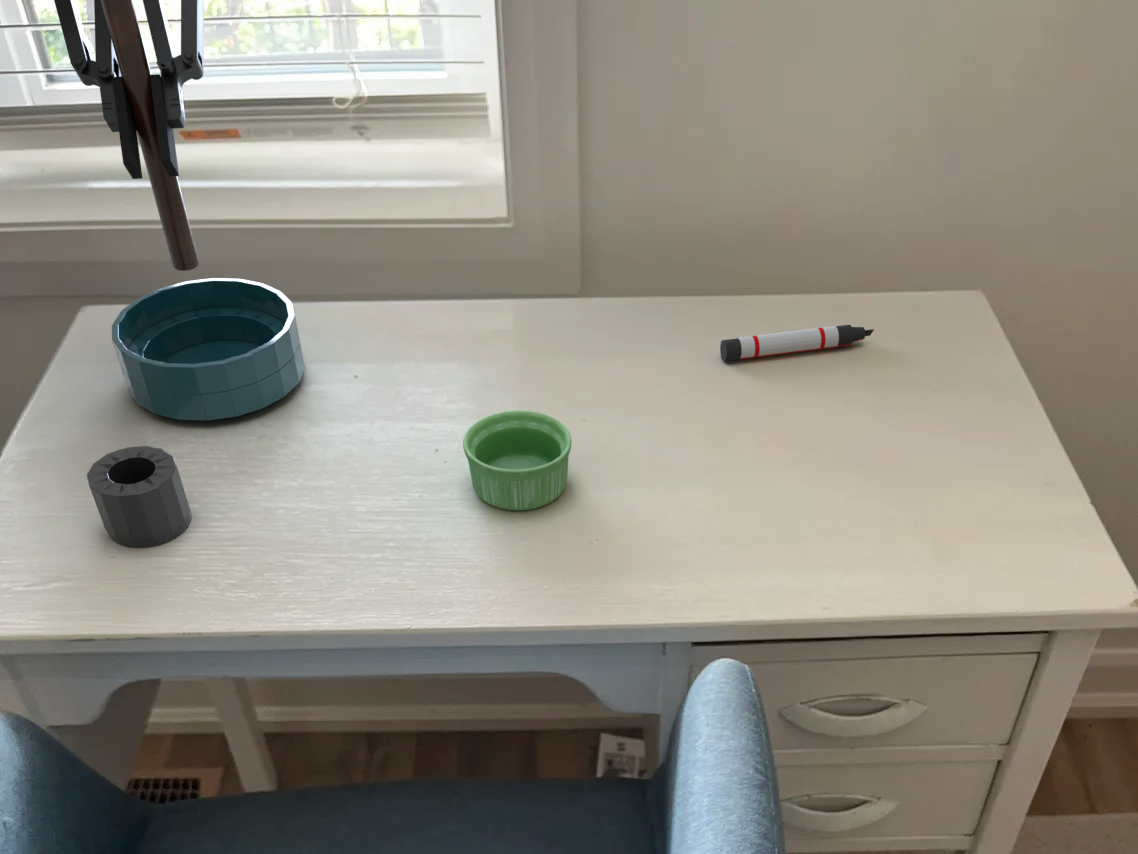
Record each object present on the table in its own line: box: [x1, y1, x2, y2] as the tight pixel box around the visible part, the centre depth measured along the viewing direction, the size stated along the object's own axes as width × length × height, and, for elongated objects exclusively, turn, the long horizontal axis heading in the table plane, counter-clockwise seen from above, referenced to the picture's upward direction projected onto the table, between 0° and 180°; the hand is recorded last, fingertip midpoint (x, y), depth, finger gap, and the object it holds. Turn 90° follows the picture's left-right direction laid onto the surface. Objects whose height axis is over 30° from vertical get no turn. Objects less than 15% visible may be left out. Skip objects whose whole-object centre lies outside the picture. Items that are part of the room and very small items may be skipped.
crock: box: [86, 445, 192, 548], centre depth 96 cm, size 7×7×5 cm
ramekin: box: [462, 409, 572, 511], centre depth 100 cm, size 9×9×4 cm
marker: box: [719, 324, 875, 362], centre depth 115 cm, size 15×2×2 cm, turn 103°
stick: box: [101, 0, 200, 272], centre depth 95 cm, size 2×2×22 cm
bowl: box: [111, 277, 306, 421], centre depth 111 cm, size 16×16×6 cm
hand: (151, 169), depth 94 cm, fingers closed on stick, 2 cm apart
